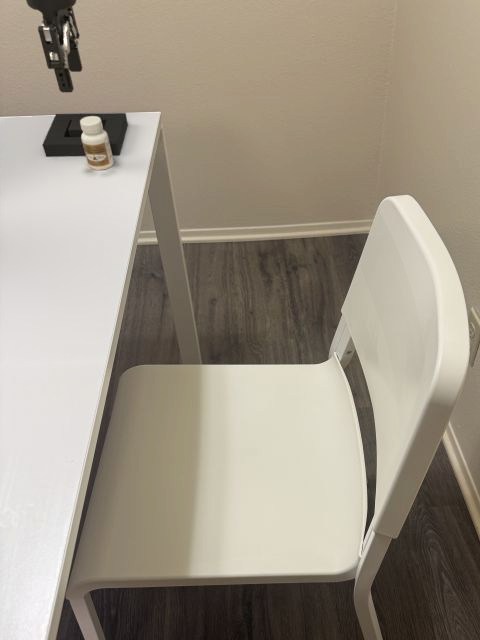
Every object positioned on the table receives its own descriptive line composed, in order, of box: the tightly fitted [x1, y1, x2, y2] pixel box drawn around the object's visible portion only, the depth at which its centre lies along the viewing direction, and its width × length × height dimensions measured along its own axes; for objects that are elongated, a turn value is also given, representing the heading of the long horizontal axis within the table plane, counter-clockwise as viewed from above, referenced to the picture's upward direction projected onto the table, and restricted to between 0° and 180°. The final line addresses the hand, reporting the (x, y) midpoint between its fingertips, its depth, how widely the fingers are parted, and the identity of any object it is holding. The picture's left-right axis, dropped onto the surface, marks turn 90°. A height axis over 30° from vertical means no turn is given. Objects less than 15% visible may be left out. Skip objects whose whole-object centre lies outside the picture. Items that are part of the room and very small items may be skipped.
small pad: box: [68, 117, 101, 137], centre depth 112 cm, size 5×5×3 cm
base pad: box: [41, 112, 129, 157], centre depth 112 cm, size 13×12×2 cm
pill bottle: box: [80, 116, 115, 171], centre depth 104 cm, size 4×4×8 cm
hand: (71, 81), depth 105 cm, fingers open, 8 cm apart
